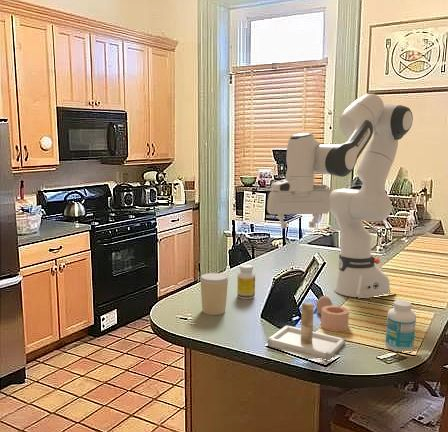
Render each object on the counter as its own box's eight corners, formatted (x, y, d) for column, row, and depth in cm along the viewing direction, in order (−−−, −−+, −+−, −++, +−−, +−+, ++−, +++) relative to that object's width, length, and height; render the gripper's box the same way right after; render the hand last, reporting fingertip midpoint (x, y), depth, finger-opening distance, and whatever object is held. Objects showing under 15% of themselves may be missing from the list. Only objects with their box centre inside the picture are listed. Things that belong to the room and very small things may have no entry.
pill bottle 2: (380, 344, 142) (383, 298, 140) (406, 343, 143) (409, 298, 141) (391, 355, 135) (395, 307, 133) (418, 354, 135) (422, 307, 133)
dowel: (309, 339, 142) (311, 302, 140) (313, 344, 139) (315, 306, 137) (299, 340, 141) (300, 302, 139) (302, 344, 138) (304, 306, 136)
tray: (344, 346, 140) (344, 338, 140) (328, 362, 130) (329, 354, 130) (286, 332, 150) (286, 325, 149) (267, 345, 140) (267, 338, 139)
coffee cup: (231, 308, 170) (232, 274, 168) (222, 317, 161) (222, 281, 160) (205, 304, 173) (206, 271, 171) (195, 313, 164) (195, 278, 163)
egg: (319, 312, 167) (320, 292, 166) (334, 315, 165) (335, 295, 164) (313, 316, 163) (314, 296, 162) (328, 319, 160) (329, 299, 159)
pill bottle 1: (253, 300, 179) (254, 268, 177) (235, 299, 180) (236, 267, 178) (255, 294, 185) (256, 264, 183) (238, 293, 186) (239, 263, 184)
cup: (341, 323, 158) (342, 304, 157) (352, 332, 150) (353, 313, 149) (317, 324, 156) (317, 306, 155) (326, 334, 148) (327, 315, 147)
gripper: (326, 183, 163) (324, 225, 165) (266, 184, 160) (265, 226, 162) (334, 185, 157) (332, 228, 159) (271, 186, 154) (270, 230, 156)
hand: (297, 227), depth 161 cm, fingers open, 8 cm apart
